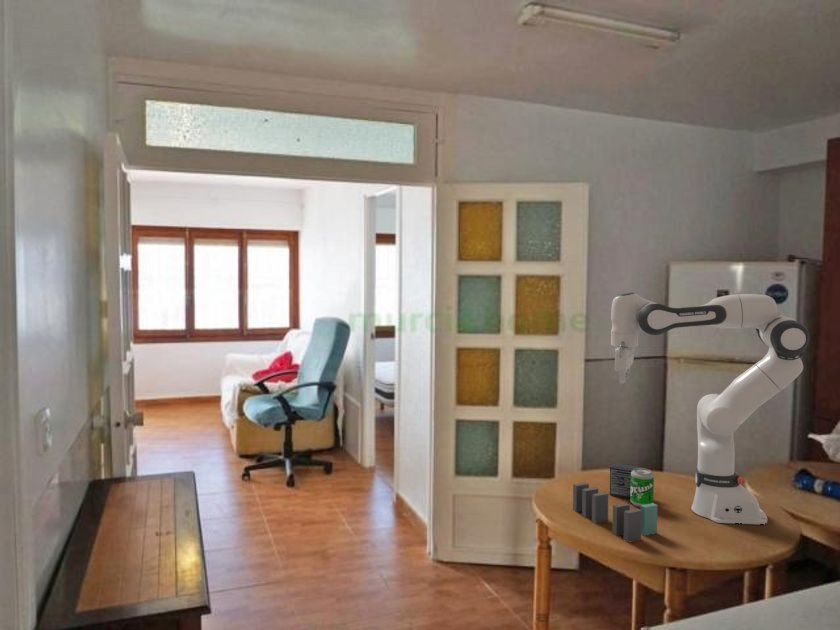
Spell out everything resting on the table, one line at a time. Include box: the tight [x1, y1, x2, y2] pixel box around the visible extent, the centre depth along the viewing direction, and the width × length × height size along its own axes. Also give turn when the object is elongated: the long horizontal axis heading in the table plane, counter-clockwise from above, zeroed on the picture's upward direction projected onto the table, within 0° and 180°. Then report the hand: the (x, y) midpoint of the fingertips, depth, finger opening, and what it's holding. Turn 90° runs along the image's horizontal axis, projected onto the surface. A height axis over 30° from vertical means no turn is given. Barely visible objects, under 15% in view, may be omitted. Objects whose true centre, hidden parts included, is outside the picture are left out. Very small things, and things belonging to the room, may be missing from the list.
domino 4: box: [612, 502, 631, 537], centre depth 186 cm, size 2×5×9 cm, turn 112°
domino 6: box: [640, 502, 658, 537], centre depth 186 cm, size 2×5×9 cm, turn 112°
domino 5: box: [623, 508, 642, 543], centre depth 181 cm, size 2×5×9 cm, turn 112°
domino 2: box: [581, 486, 599, 518], centre depth 200 cm, size 2×5×9 cm, turn 112°
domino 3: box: [591, 491, 609, 524], centre depth 195 cm, size 2×5×9 cm, turn 112°
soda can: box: [629, 467, 655, 509], centre depth 209 cm, size 8×8×12 cm
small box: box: [608, 463, 644, 500], centre depth 218 cm, size 11×6×10 cm, turn 58°
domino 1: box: [572, 482, 590, 513], centre depth 205 cm, size 2×5×9 cm, turn 112°
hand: (624, 381), depth 205 cm, fingers open, 8 cm apart
